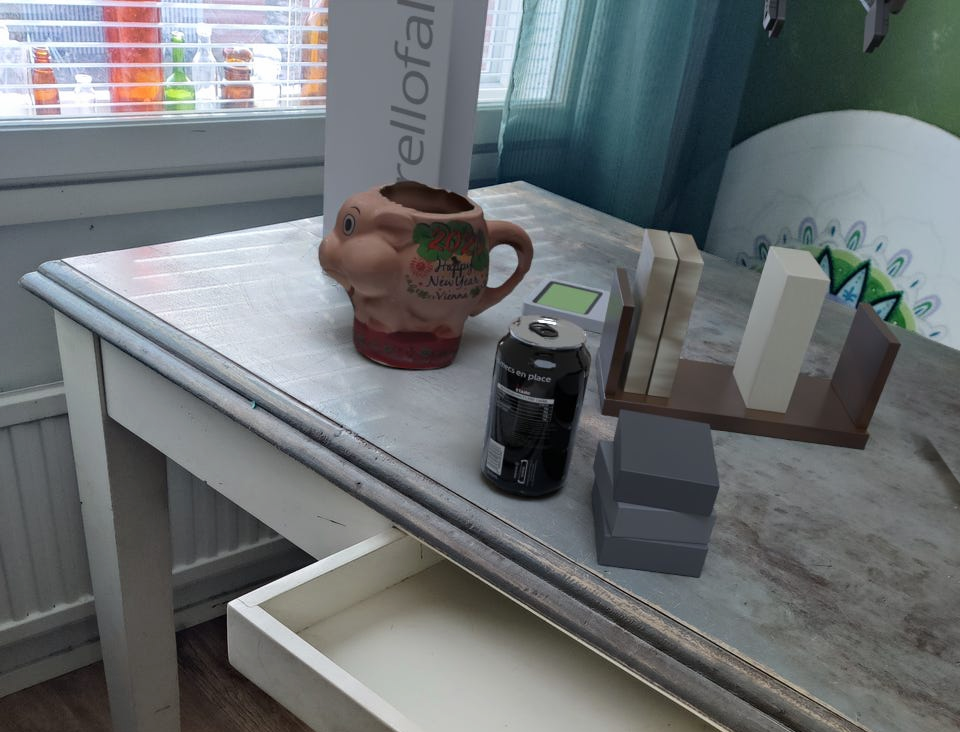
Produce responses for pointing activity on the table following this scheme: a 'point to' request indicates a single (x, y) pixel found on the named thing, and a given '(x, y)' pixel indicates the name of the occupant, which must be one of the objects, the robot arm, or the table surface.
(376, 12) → the white lettered box
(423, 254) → the pig-shaped ceramic mug
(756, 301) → the tall beige pillar
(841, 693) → the table surface
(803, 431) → the book rack
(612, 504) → the stacked grey blocks
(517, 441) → the beverage can
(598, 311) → the handheld gaming console
